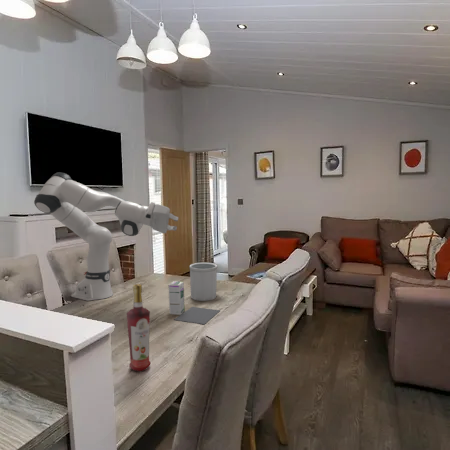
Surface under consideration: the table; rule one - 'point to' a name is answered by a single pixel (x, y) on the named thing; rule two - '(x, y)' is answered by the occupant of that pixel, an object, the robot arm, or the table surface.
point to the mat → (197, 315)
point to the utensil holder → (203, 281)
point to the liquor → (138, 332)
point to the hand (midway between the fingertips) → (177, 224)
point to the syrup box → (176, 297)
